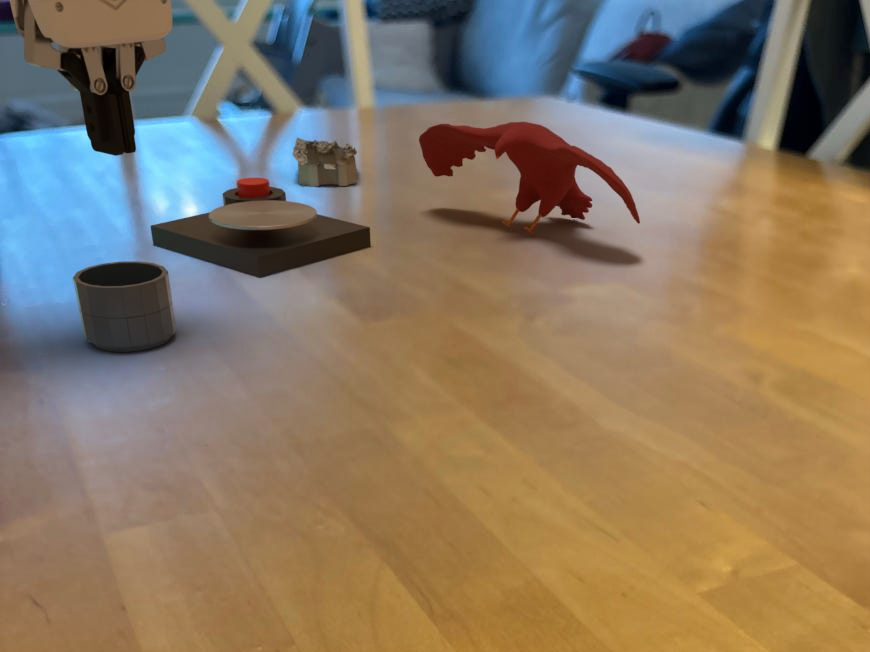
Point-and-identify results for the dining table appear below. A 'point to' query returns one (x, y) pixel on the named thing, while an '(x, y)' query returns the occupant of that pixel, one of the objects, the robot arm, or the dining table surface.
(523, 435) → the dining table surface
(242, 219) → the grey round platter
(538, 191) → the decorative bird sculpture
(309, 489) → the dining table surface
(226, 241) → the scale
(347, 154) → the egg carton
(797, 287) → the dining table surface
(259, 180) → the tare button
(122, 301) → the cylindrical container
